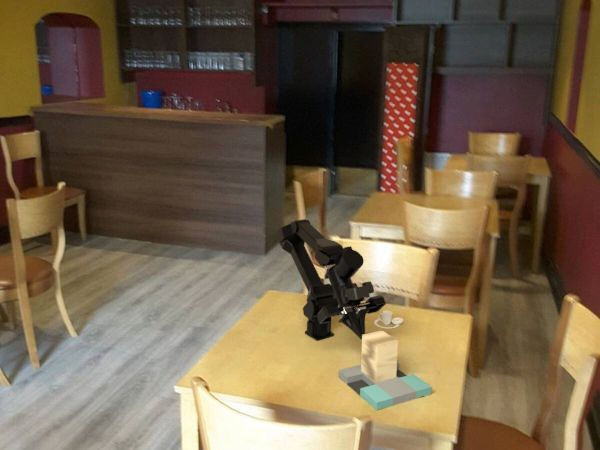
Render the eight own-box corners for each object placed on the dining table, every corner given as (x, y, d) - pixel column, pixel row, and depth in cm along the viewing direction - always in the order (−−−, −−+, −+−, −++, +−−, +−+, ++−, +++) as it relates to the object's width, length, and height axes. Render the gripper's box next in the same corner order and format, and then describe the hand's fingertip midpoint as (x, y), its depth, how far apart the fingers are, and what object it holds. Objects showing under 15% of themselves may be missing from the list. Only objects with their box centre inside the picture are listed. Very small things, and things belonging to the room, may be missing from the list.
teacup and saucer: (405, 322, 195) (405, 310, 194) (397, 332, 188) (398, 319, 187) (378, 317, 199) (378, 305, 198) (370, 327, 192) (370, 314, 191)
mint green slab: (359, 395, 152) (360, 388, 151) (413, 381, 159) (413, 373, 159) (376, 410, 146) (377, 402, 145) (431, 394, 153) (431, 386, 152)
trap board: (338, 377, 161) (338, 370, 160) (389, 363, 168) (390, 357, 167) (376, 410, 146) (377, 402, 145) (431, 394, 153) (431, 386, 152)
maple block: (360, 370, 160) (362, 334, 158) (380, 365, 163) (381, 330, 160) (376, 382, 154) (377, 345, 152) (396, 377, 157) (398, 340, 154)
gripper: (323, 277, 159) (344, 333, 153) (383, 267, 167) (406, 320, 161) (308, 296, 168) (328, 350, 161) (366, 285, 176) (387, 336, 170)
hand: (363, 338), depth 163 cm, fingers closed
